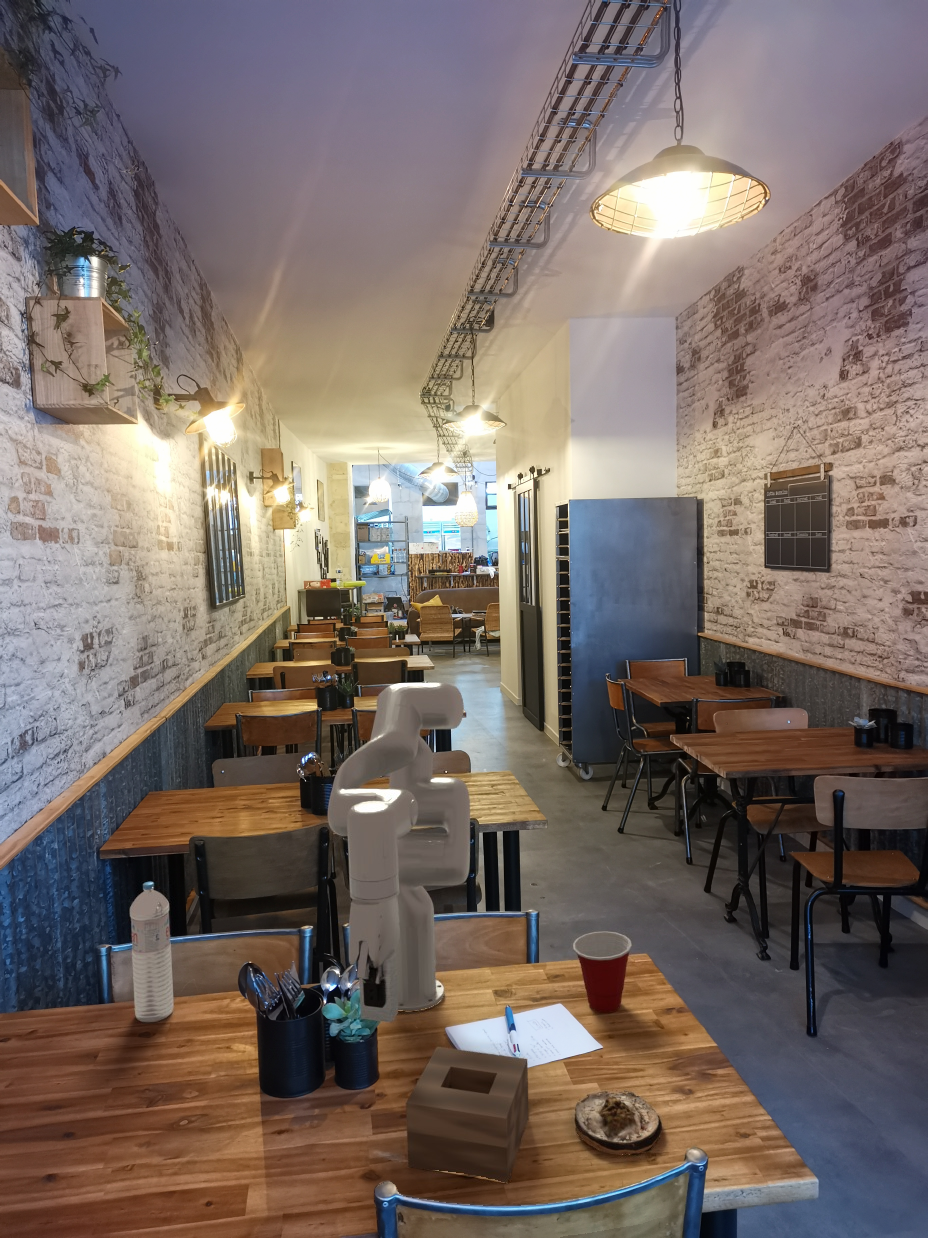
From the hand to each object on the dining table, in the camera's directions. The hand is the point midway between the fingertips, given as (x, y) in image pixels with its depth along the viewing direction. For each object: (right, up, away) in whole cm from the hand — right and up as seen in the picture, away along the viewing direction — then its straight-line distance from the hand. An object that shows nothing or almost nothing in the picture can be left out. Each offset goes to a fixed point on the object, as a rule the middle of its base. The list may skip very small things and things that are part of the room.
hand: (378, 998), depth 130 cm
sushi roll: (+36, -16, -8) cm, 40 cm away
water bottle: (-45, -16, +28) cm, 55 cm away
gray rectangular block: (0, -3, 0) cm, 3 cm away
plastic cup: (+39, -13, +27) cm, 49 cm away
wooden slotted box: (+14, -16, -10) cm, 23 cm away
